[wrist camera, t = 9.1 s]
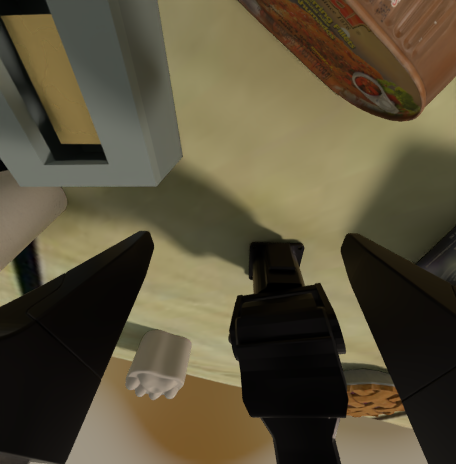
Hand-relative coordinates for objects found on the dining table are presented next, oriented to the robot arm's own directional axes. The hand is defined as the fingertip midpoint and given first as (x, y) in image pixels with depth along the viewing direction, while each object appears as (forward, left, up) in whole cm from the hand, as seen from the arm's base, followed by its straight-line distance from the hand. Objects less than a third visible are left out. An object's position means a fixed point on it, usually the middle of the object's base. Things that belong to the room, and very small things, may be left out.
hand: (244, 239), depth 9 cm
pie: (-55, -28, -12) cm, 63 cm away
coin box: (+6, +11, -12) cm, 17 cm away
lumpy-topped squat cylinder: (-40, +17, -12) cm, 45 cm away
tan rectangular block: (+6, +11, -11) cm, 17 cm away
